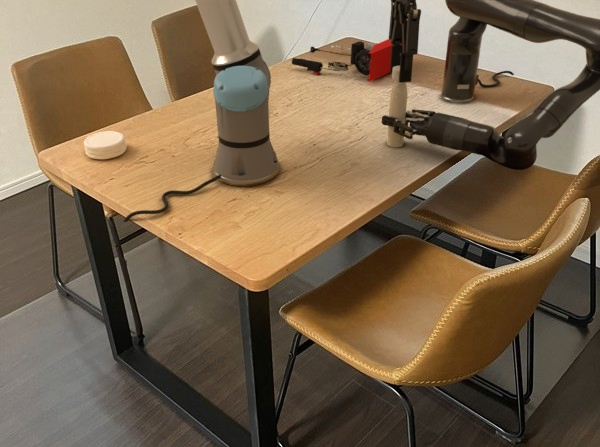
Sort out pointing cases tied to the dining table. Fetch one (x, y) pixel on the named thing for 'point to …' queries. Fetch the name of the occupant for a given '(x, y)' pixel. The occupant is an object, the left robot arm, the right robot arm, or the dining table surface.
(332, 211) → the dining table surface
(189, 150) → the dining table surface
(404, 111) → the bottle
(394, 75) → the cap
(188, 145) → the dining table surface
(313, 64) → the electric hoist
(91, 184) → the dining table surface
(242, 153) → the left robot arm
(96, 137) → the white round disc
